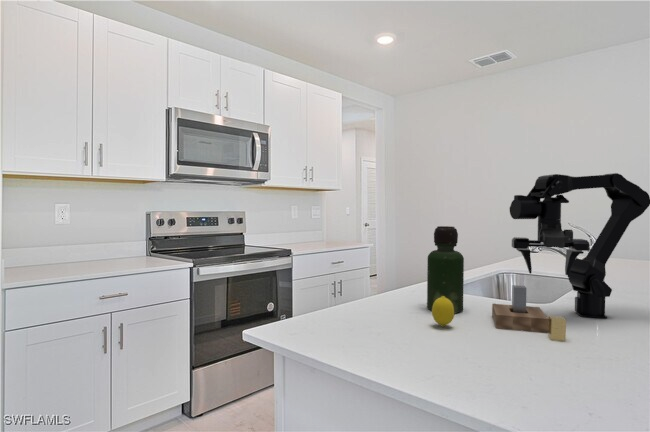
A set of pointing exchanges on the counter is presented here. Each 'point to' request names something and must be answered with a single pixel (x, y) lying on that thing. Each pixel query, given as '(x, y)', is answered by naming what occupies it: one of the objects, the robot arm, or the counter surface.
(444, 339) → the counter surface
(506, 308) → the socket block
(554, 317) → the short pin
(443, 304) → the lemon
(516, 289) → the long pin
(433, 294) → the dark green bottle
